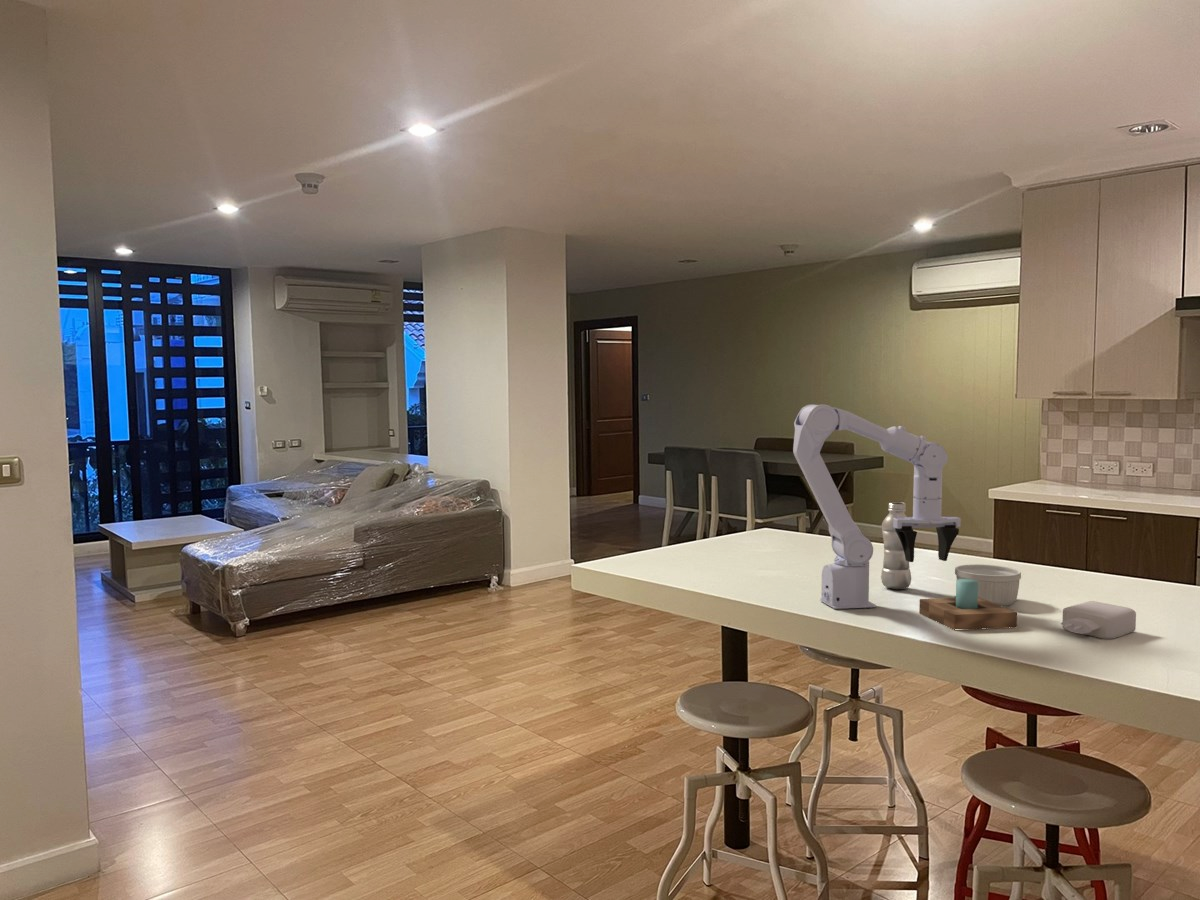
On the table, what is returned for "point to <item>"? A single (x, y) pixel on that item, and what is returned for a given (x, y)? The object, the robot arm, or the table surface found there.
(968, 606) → the peg
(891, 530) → the plastic bottle
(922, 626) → the table surface
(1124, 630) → the charger
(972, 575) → the ramekin
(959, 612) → the socket
